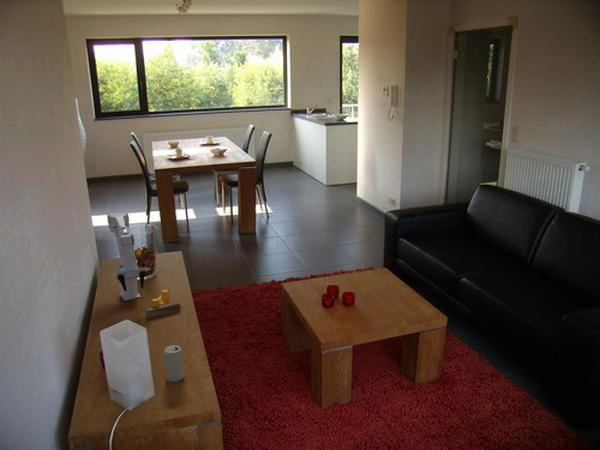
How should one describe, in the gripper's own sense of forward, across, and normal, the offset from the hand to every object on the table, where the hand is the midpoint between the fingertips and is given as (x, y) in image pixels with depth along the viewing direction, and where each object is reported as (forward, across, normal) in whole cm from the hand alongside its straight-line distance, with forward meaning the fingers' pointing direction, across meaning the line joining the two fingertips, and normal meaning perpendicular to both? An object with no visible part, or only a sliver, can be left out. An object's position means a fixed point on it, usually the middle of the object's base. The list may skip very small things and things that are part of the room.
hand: (133, 289), depth 231 cm
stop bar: (+13, +10, -6) cm, 18 cm away
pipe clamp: (+11, +11, +1) cm, 15 cm away
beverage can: (+34, -2, -55) cm, 64 cm away
